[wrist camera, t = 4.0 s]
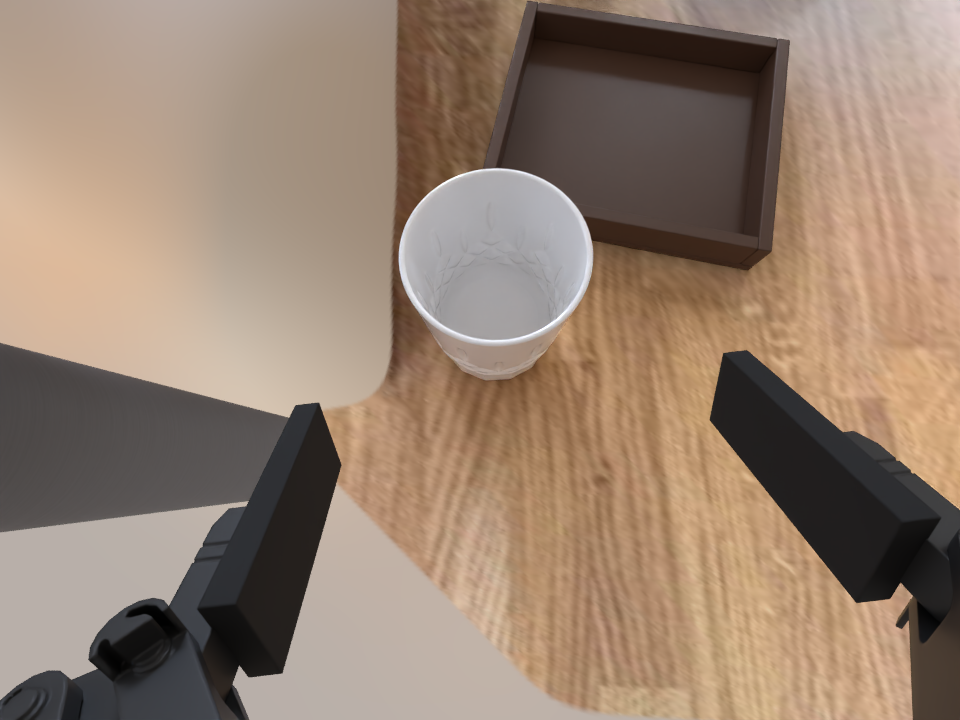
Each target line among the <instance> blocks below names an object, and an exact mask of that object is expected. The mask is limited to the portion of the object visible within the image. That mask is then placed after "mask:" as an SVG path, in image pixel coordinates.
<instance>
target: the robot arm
mask: <svg viewBox="0 0 960 720" xmlns="http://www.w3.org/2000/svg"><path fill="white" fill-rule="evenodd" d="M710 421H711V422H712V424H713V425H714V426H715V427H716V429H717V430H718V431H719V432H720V434H721V435H722V436H723V437H724V439H725V440H726V441H727V442H728V443H729V445H730V446H731V447H732V448H733V450H734V451H735V452H736V453H737V455H738V456H739V457H740V458H741V460H742V461H743V462H744V463H745V465H746V466H747V467H748V468H749V470H750V471H751V472H752V473H753V475H754V476H755V477H756V478H757V480H758V481H759V482H760V483H761V485H762V486H763V487H764V488H765V490H766V491H767V492H768V493H769V495H770V496H771V497H772V498H773V500H774V501H775V502H776V503H777V505H778V506H779V507H780V508H781V510H782V511H783V512H784V513H785V515H786V516H787V517H788V518H789V519H790V521H791V522H792V523H793V524H794V526H795V527H796V528H797V529H798V531H799V532H800V533H801V534H802V536H803V537H804V538H805V539H806V541H807V542H808V543H809V544H810V546H811V547H812V548H813V549H814V551H815V552H816V553H817V554H818V556H819V557H820V558H821V559H822V561H823V562H824V563H825V564H826V566H827V567H828V568H829V569H830V571H831V572H832V573H833V574H834V576H835V577H836V578H837V579H838V581H839V582H840V583H841V584H842V586H843V587H844V588H845V589H846V591H847V592H848V593H849V594H850V595H851V597H852V598H853V599H854V600H855V602H856V603H861V602H869V601H877V600H885V599H890V598H891V597H892V595H893V593H894V592H895V590H896V589H897V587H898V586H899V584H900V582H901V583H902V584H903V585H904V587H905V588H906V589H907V590H908V591H909V592H910V593H911V594H912V595H913V597H912V599H911V600H910V602H909V603H908V605H907V606H906V607H905V609H904V610H903V612H902V613H901V615H900V616H899V618H898V620H897V623H896V627H899V628H901V629H902V628H903V627H904V625H905V624H906V622H907V621H908V620H909V632H910V658H911V683H912V709H913V720H960V510H959V509H958V508H956V507H955V506H954V505H953V504H952V503H950V502H949V501H948V500H947V499H945V498H944V497H943V496H942V495H940V494H939V493H938V492H937V491H936V490H934V489H933V488H932V487H931V486H929V485H928V484H927V483H926V482H925V481H923V480H922V479H921V478H920V477H918V476H917V475H916V474H915V473H914V474H912V473H911V470H910V469H909V468H907V467H906V466H905V465H904V464H902V463H901V462H900V461H896V458H895V457H894V456H893V455H891V454H890V453H889V452H888V451H886V450H885V449H884V448H883V447H882V446H880V445H879V444H878V443H876V442H874V441H872V440H870V439H868V438H866V437H864V436H862V435H860V434H859V433H857V432H855V431H850V432H842V431H841V430H839V429H838V428H837V427H836V426H835V425H834V424H832V423H831V422H830V421H829V420H828V419H827V418H825V417H824V416H823V415H822V414H821V413H820V412H818V411H817V410H816V409H815V408H814V407H813V406H811V405H810V404H809V403H808V402H807V401H806V400H804V399H803V398H802V397H801V396H800V395H799V394H797V393H796V392H795V391H794V390H793V389H792V388H790V387H789V386H788V385H787V384H786V383H785V382H783V381H782V380H781V379H780V378H779V377H778V376H776V375H775V374H774V373H773V372H772V371H771V370H769V369H768V368H767V367H766V366H765V365H764V364H762V363H761V362H760V361H759V360H758V359H757V358H755V357H754V356H753V355H752V354H751V353H750V352H748V351H747V350H744V351H736V352H728V353H723V357H722V362H721V367H720V372H719V377H718V381H717V386H716V391H715V396H714V401H713V406H712V411H711V416H710ZM340 468H341V462H340V459H339V457H338V454H337V451H336V448H335V446H334V443H333V440H332V437H331V435H330V432H329V429H328V426H327V423H326V421H325V418H324V415H323V412H322V410H321V407H320V404H319V403H311V404H303V405H296V406H295V407H294V410H293V411H292V414H291V416H290V417H289V420H288V422H287V424H286V426H285V428H284V430H283V432H282V434H281V436H280V438H279V440H278V442H277V444H276V446H275V448H274V450H273V452H272V455H271V457H270V459H269V461H268V463H267V465H266V467H265V469H264V471H263V473H262V475H261V477H260V479H259V481H258V483H257V485H256V487H255V490H254V492H253V494H252V496H251V498H250V500H249V502H248V504H247V506H246V507H238V508H230V509H228V510H227V511H226V512H225V513H224V514H223V515H222V516H221V517H220V518H219V519H218V521H216V522H215V524H214V525H213V526H212V527H211V530H210V531H209V533H208V535H207V537H206V539H205V541H204V542H203V547H202V548H200V550H199V551H198V553H197V555H196V557H195V559H194V560H195V562H194V563H192V564H191V566H190V568H189V570H188V572H187V574H186V575H185V577H184V579H183V581H182V583H181V585H180V587H179V589H178V590H177V592H176V594H175V596H174V598H173V600H172V601H171V603H170V605H169V606H168V605H167V604H166V603H165V601H164V600H161V599H156V598H151V599H146V600H142V601H138V602H136V603H134V604H132V605H130V606H128V607H126V608H124V609H123V610H122V611H120V612H119V613H118V614H117V615H115V616H114V617H113V618H111V619H110V620H109V621H108V622H107V623H106V625H105V626H104V627H103V628H102V629H101V630H100V631H99V632H98V634H97V636H96V637H95V639H94V641H93V643H92V645H91V647H90V652H89V659H88V660H89V661H90V662H91V663H93V664H94V665H95V666H96V667H97V668H98V669H96V670H94V671H92V672H89V673H87V674H85V675H82V676H80V677H77V678H75V679H73V680H71V679H69V678H68V677H67V676H66V675H65V674H64V673H62V672H61V671H46V672H43V673H40V674H38V675H35V676H33V677H31V678H29V679H28V680H26V681H24V682H23V683H21V684H19V685H18V686H16V687H15V688H14V689H13V690H12V691H10V692H9V693H8V694H7V695H6V696H5V697H4V698H2V699H1V700H0V720H249V718H248V715H247V713H246V711H245V708H244V706H243V704H242V701H241V699H240V696H239V694H238V692H237V689H236V688H235V687H234V686H233V685H232V684H233V681H234V678H235V675H236V672H237V669H238V667H239V665H240V667H241V668H242V669H243V671H244V672H245V673H246V674H247V676H248V677H257V676H264V675H273V674H281V673H283V669H284V666H285V662H286V659H287V655H288V652H289V648H290V644H291V641H292V638H293V634H294V630H295V627H296V623H297V620H298V616H299V613H300V609H301V606H302V602H303V599H304V595H305V592H306V588H307V585H308V581H309V578H310V574H311V570H312V567H313V564H314V560H315V556H316V553H317V549H318V546H319V542H320V539H321V535H322V532H323V528H324V525H325V521H326V517H327V514H328V510H329V507H330V503H331V500H332V497H333V493H334V490H335V486H336V483H337V479H338V475H339V472H340Z"/></svg>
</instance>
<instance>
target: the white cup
mask: <svg viewBox="0 0 960 720" xmlns="http://www.w3.org/2000/svg"><path fill="white" fill-rule="evenodd" d="M592 268H593V246H592V240H591V236H590V232H589V229H588V227H587V224H586V222H585V220H584V218H583V216H582V214H581V213H580V211H579V210H578V208H577V207H576V206H575V204H574V203H573V202H572V201H571V200H570V199H569V198H568V197H567V196H566V195H565V194H564V193H563V192H562V191H561V190H559V189H558V188H557V187H555V186H554V185H552V184H551V183H549V182H547V181H545V180H544V179H542V178H539V177H537V176H535V175H532V174H529V173H526V172H522V171H518V170H512V169H501V168H493V169H482V170H476V171H471V172H467V173H464V174H461V175H459V176H456V177H454V178H452V179H450V180H448V181H446V182H444V183H442V184H441V185H439V186H438V187H436V188H435V189H434V190H432V191H431V192H430V193H429V194H428V195H427V196H426V197H425V198H424V199H423V200H422V201H421V202H420V203H419V204H418V205H417V207H416V208H415V209H414V211H413V212H412V214H411V215H410V217H409V219H408V221H407V223H406V225H405V228H404V231H403V234H402V237H401V241H400V247H399V269H400V275H401V279H402V282H403V285H404V288H405V290H406V293H407V295H408V297H409V299H410V300H411V302H412V304H413V305H414V307H415V308H416V310H417V311H418V313H419V315H420V316H421V318H422V320H423V321H424V323H425V324H426V326H427V328H428V329H429V331H430V333H431V334H432V336H433V337H434V339H435V340H436V342H437V343H438V344H439V345H440V347H441V348H442V350H443V351H444V352H445V353H446V354H447V355H448V356H449V357H450V358H451V359H452V360H453V362H454V363H455V364H456V365H457V366H458V367H459V368H460V369H461V371H463V372H466V373H468V374H470V375H473V376H475V377H478V378H480V379H483V380H504V379H511V378H513V377H515V376H517V375H519V374H521V373H522V372H524V371H526V370H528V369H530V368H532V367H533V365H534V364H535V363H536V361H537V360H538V358H539V357H541V356H542V355H543V354H544V353H545V352H546V351H547V349H548V348H549V347H550V345H551V344H552V343H553V342H554V340H555V339H556V337H557V336H558V334H559V333H560V331H561V330H562V328H563V327H564V325H565V324H566V322H567V321H568V319H569V317H570V316H571V314H572V313H573V312H574V310H575V309H576V307H577V306H578V304H579V303H580V301H581V299H582V298H583V296H584V294H585V292H586V290H587V287H588V284H589V281H590V278H591V274H592Z"/></svg>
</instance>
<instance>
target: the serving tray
mask: <svg viewBox="0 0 960 720" xmlns="http://www.w3.org/2000/svg"><path fill="white" fill-rule="evenodd" d="M789 45H790V41H789V40H784V39H778V40H777V38H771V37H764V36H758V35H751V34H744V33H738V32H731V31H725V30H718V29H711V28H705V27H698V26H691V25H685V24H678V23H672V22H665V21H658V20H652V19H645V18H638V17H632V16H625V15H619V14H612V13H605V12H599V11H592V10H585V9H579V8H572V7H566V6H559V5H552V4H546V3H539V4H538V2H533V1H527V4H526V8H525V11H524V15H523V19H522V23H521V27H520V30H519V34H518V38H517V42H516V46H515V49H514V53H513V57H512V61H511V65H510V68H509V72H508V76H507V80H506V84H505V87H504V91H503V95H502V99H501V103H500V106H499V110H498V114H497V118H496V122H495V125H494V129H493V133H492V137H491V141H490V144H489V148H488V152H487V156H486V160H485V163H484V167H483V169H493V168H501V169H512V170H518V171H522V172H526V173H529V174H532V175H535V176H537V177H539V178H542V179H544V180H545V181H547V182H549V183H551V184H552V185H554V186H555V187H557V188H558V189H559V190H561V191H562V192H563V193H564V194H565V195H566V196H567V197H568V198H569V199H570V200H571V201H572V202H573V203H574V204H575V206H576V207H577V208H578V210H579V211H580V213H581V214H582V216H583V218H584V220H585V222H586V224H587V227H588V229H589V232H590V236H591V240H594V241H599V242H604V243H610V244H615V245H620V246H625V247H630V248H636V249H641V250H646V251H651V252H656V253H662V254H667V255H672V256H677V257H682V258H688V259H693V260H698V261H703V262H708V263H714V264H719V265H724V266H729V267H734V268H740V269H745V270H749V269H750V268H752V266H754V265H755V264H756V263H758V262H759V261H760V260H761V259H763V258H764V257H765V256H767V255H768V254H769V253H770V252H771V251H772V241H773V230H774V218H775V207H776V195H777V184H778V172H779V161H780V149H781V138H782V126H783V115H784V103H785V92H786V80H787V68H788V57H789Z"/></svg>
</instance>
